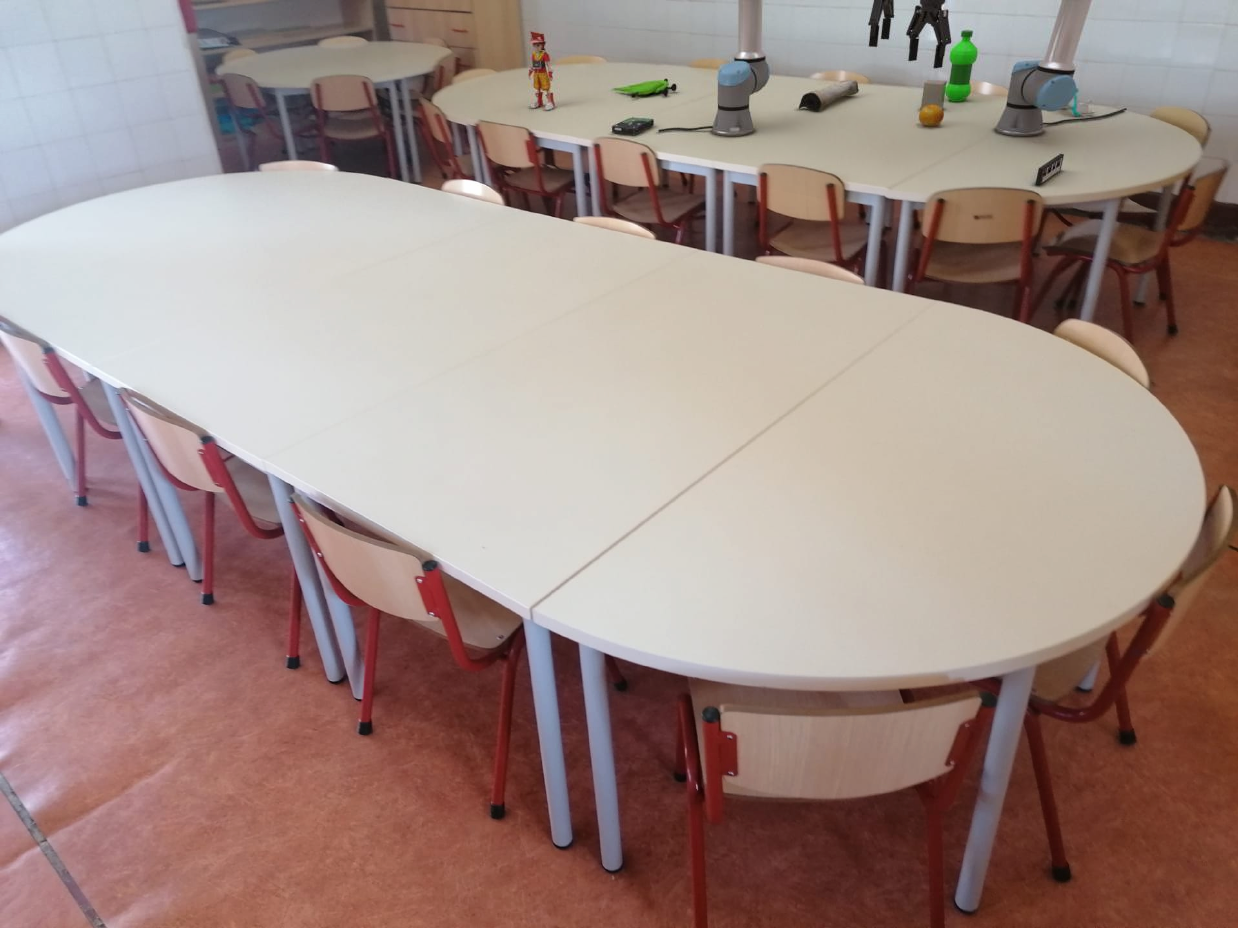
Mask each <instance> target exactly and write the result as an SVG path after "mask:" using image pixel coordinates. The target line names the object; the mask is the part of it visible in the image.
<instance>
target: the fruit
mask: <svg viewBox="0 0 1238 928" xmlns="http://www.w3.org/2000/svg"><path fill="white" fill-rule="evenodd" d="M944 116H945V111H944V108H943V109H942V108H941V107H940V106H938V105H935V104H933V105H927V106H925V107H923V108H922V109H921V108H920V110H919V113H918V120H919V122H920V124H921V125H923V126H927V127H935V126H938V125H939V124H940V123H942V121H943V120H944Z"/></svg>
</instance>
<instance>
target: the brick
mask: <svg viewBox="0 0 1238 928" xmlns="http://www.w3.org/2000/svg"><path fill="white" fill-rule="evenodd" d="M947 84H948V80H937V79H927V80H926V81H925V82H923V91H922V97H921V98H922V99H921V106H920V110H921V109H922V108H923V107H925V106H927V105H933V104H935V105H938V106H940V107H941V108H942V109H943V110H944V104H945V103H944V102H945V96H946V92H945V91H946V87H947Z"/></svg>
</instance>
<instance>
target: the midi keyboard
mask: <svg viewBox="0 0 1238 928" xmlns="http://www.w3.org/2000/svg"><path fill="white" fill-rule="evenodd" d="M1064 157H1065V153H1059V154H1058V155H1056V156H1055V157H1052V159H1051V160H1049V161H1047V162H1045V164H1042V165H1041V166H1039V167H1038V169H1037V175H1036V179H1035V186H1040V185H1042V183H1044V182H1045V181H1047V180H1048V179H1049V178H1051V177H1052V176H1054V175H1055V174H1056V173H1058V172H1060V171H1061V170H1062V165H1063V161H1064Z"/></svg>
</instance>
